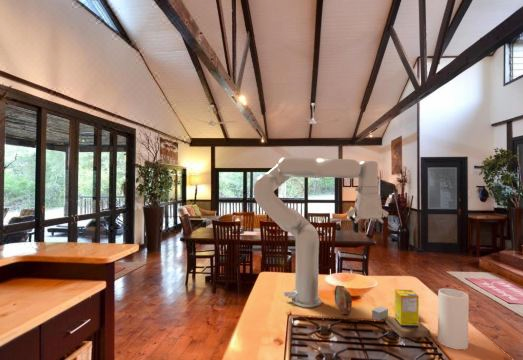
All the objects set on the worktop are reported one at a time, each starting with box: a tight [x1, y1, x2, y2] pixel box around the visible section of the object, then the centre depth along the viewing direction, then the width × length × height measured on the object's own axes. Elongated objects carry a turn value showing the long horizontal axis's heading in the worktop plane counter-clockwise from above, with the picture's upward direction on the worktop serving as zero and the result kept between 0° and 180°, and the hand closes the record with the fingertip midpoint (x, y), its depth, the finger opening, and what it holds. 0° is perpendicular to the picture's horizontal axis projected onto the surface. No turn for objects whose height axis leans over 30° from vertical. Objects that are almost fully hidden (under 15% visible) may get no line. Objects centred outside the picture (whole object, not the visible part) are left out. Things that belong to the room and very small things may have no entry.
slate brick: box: [371, 306, 389, 321], centre depth 115 cm, size 6×3×3 cm, turn 128°
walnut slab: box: [385, 316, 431, 338], centre depth 105 cm, size 10×10×2 cm
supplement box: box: [394, 288, 420, 327], centre depth 106 cm, size 6×6×11 cm
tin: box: [334, 285, 353, 315], centre depth 121 cm, size 15×3×8 cm, turn 2°
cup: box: [437, 287, 470, 350], centre depth 97 cm, size 8×8×16 cm
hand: (367, 232), depth 125 cm, fingers open, 9 cm apart
